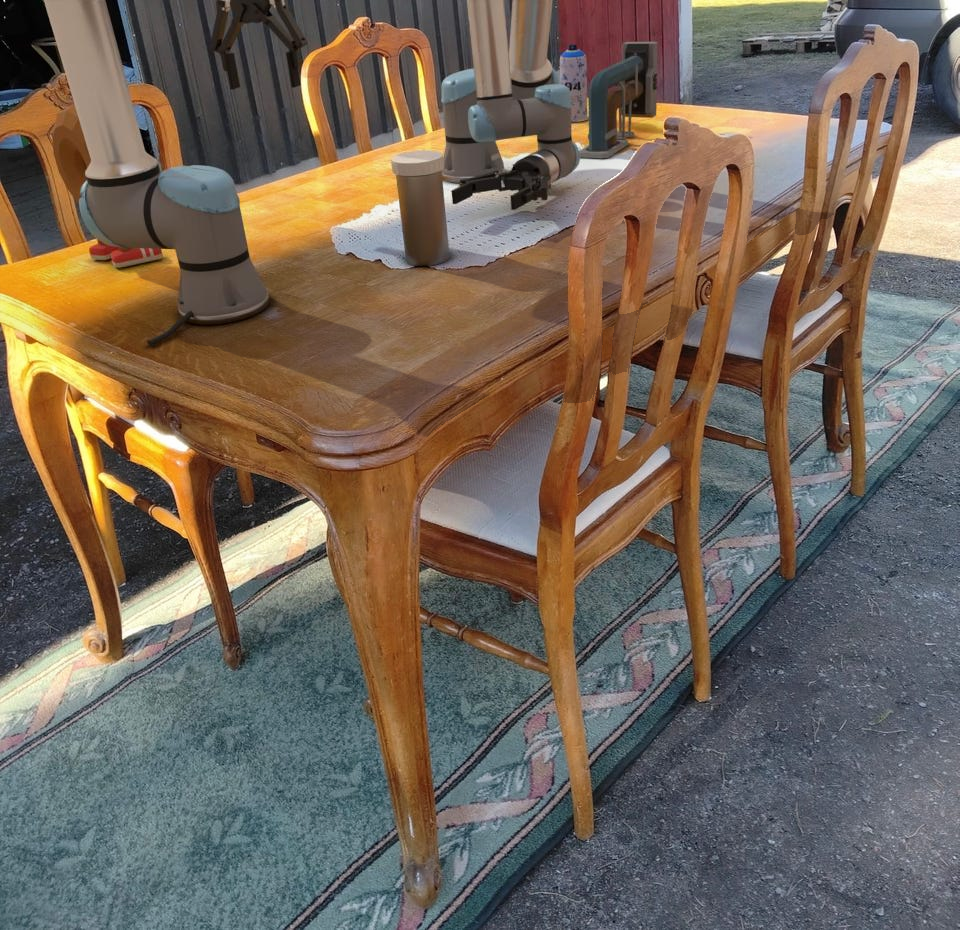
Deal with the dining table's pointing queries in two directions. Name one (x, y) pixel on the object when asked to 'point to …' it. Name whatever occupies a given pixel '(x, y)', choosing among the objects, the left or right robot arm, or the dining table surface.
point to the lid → (417, 163)
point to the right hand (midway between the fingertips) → (482, 200)
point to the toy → (72, 169)
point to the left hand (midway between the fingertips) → (265, 87)
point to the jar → (423, 219)
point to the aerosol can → (575, 81)
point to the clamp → (621, 98)
